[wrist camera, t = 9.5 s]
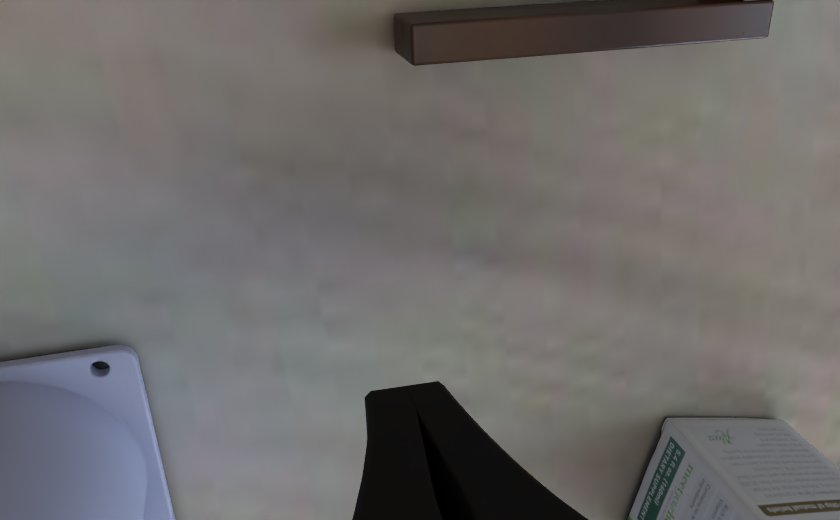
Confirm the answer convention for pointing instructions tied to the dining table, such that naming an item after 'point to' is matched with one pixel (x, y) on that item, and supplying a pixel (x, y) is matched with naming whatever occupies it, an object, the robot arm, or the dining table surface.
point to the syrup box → (736, 473)
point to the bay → (574, 28)
